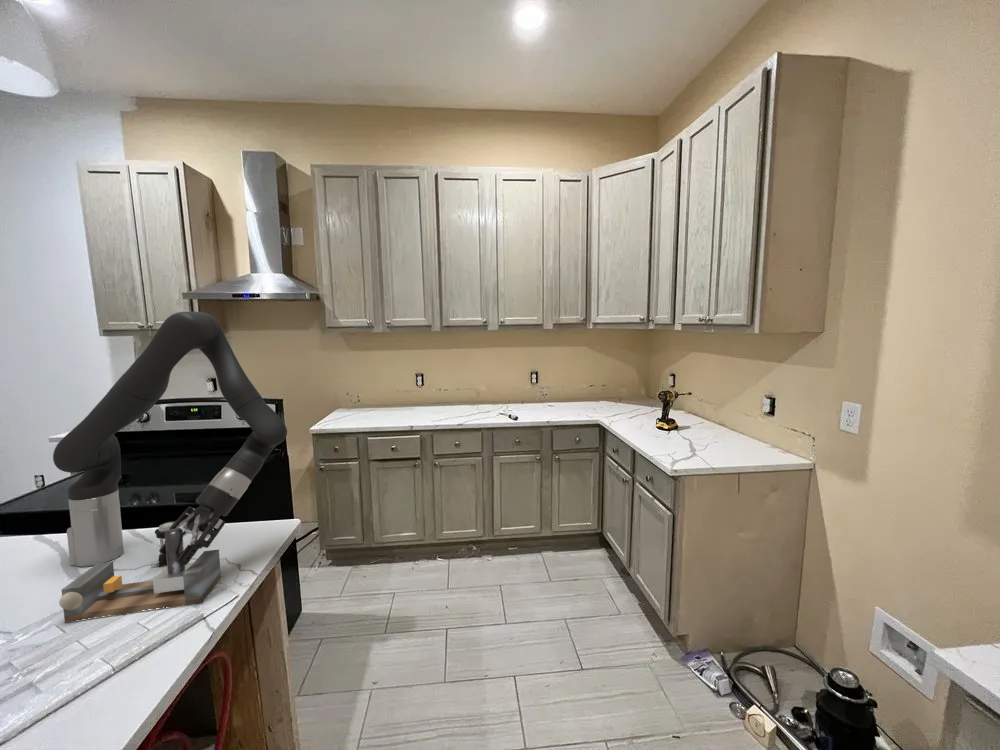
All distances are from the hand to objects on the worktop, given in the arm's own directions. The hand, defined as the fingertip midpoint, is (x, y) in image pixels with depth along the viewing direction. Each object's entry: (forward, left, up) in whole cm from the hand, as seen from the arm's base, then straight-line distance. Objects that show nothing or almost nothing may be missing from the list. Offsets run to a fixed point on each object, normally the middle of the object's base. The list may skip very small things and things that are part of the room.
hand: (171, 558), depth 91 cm
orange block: (-11, +1, -5) cm, 13 cm away
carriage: (+1, +1, -6) cm, 6 cm away
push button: (-9, +17, -9) cm, 21 cm away
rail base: (-5, +1, -9) cm, 10 cm away
